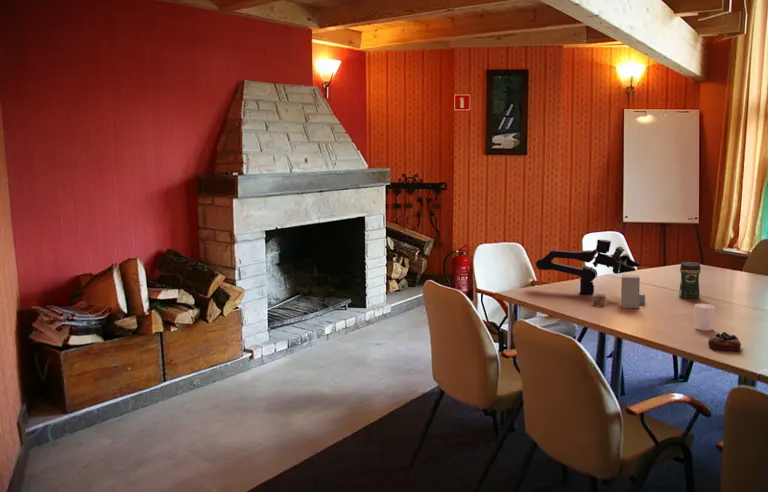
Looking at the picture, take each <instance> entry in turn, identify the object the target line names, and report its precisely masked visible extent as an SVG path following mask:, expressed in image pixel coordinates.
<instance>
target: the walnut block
mask: <svg viewBox="0 0 768 492" xmlns="http://www.w3.org/2000/svg"><path fill="white" fill-rule="evenodd" d="M594 305H601V306H600V307H605V306H606V294H603V293H602V294H601V293H595V294H593V306H594Z"/></svg>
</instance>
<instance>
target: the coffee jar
mask: <svg viewBox="0 0 768 492" xmlns="http://www.w3.org/2000/svg"><path fill="white" fill-rule="evenodd" d="M679 271H680V285H679V291H678V296H679V298H682V299H688V300H690V299H691V300H693V299H695V300H696V299H699V298H700V296H701V295H700V294H701V293H700V282H699V281H700V280H699V279H700V278H699V277H700V274H701V271H702V270H701V265H700V263H699V262H693V261H682V262H680V268H679Z"/></svg>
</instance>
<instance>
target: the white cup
mask: <svg viewBox="0 0 768 492" xmlns="http://www.w3.org/2000/svg"><path fill="white" fill-rule="evenodd" d="M715 313H716V306H715V305H713V304H709V303H695V304H694V316H693V317H694V328H695V329H696V330H700V331H708V332H709V331H712V330H713V329H714V328H713V327H714V320H715Z"/></svg>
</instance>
